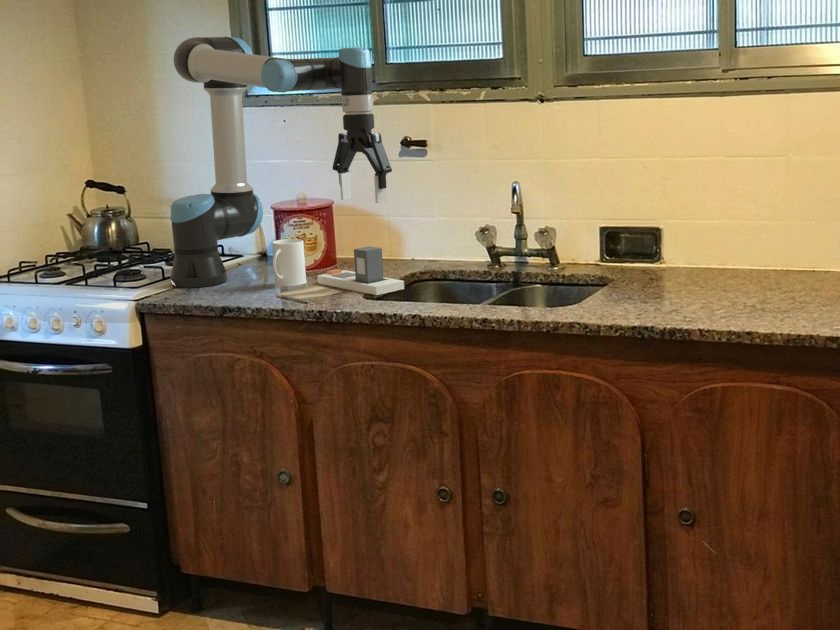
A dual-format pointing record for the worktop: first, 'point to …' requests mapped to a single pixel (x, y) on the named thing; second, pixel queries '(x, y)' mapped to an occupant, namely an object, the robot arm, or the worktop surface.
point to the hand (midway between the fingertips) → (363, 200)
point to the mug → (289, 262)
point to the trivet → (307, 293)
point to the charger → (368, 265)
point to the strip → (349, 282)
